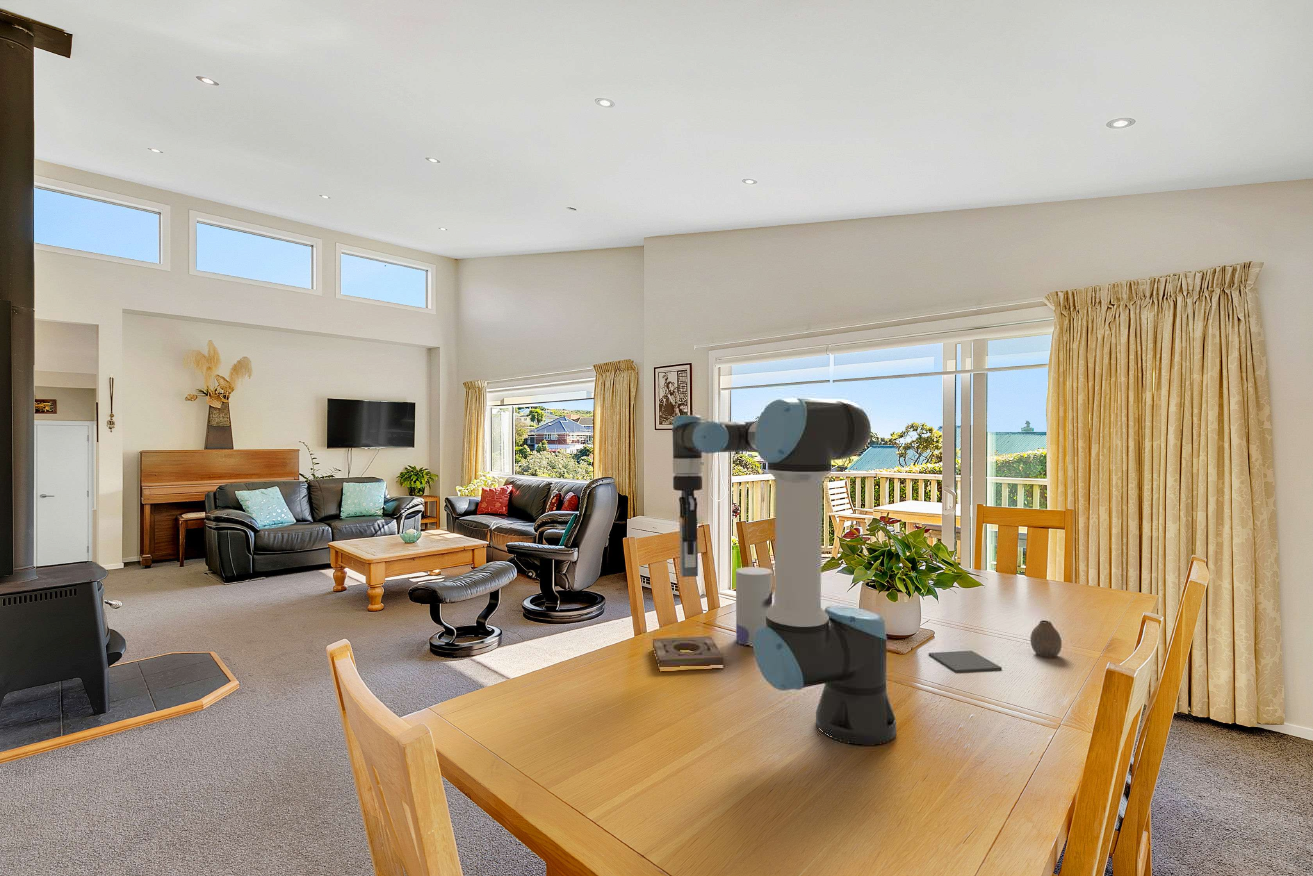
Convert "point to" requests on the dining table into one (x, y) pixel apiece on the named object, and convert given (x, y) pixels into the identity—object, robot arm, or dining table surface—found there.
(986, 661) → the pad
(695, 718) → the dining table surface
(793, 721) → the dining table surface
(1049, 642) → the vase
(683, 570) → the key peg
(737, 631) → the container
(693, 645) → the block
